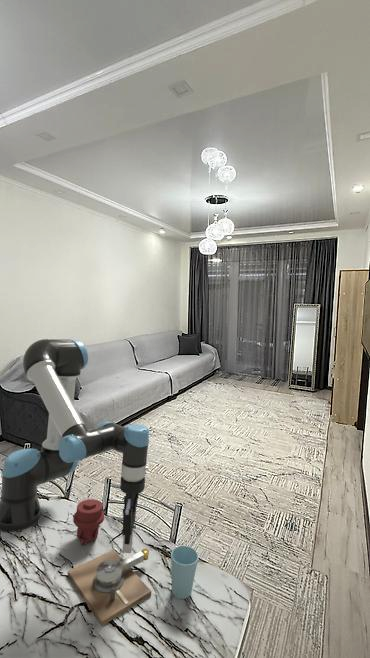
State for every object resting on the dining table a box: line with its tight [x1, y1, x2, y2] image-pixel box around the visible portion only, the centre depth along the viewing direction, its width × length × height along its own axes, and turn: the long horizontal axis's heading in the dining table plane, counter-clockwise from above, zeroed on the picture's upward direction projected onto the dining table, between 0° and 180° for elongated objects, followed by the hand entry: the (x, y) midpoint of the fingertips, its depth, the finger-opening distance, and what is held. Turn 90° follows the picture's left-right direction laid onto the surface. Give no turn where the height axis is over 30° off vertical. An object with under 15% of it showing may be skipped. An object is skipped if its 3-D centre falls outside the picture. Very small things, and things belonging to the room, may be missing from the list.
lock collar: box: [96, 548, 150, 588], centre depth 95 cm, size 7×17×3 cm, turn 133°
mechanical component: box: [72, 498, 105, 546], centre depth 110 cm, size 12×10×10 cm
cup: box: [170, 545, 199, 600], centre depth 92 cm, size 8×8×10 cm
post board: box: [67, 549, 152, 627], centre depth 92 cm, size 20×15×4 cm
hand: (126, 551), depth 102 cm, fingers closed
